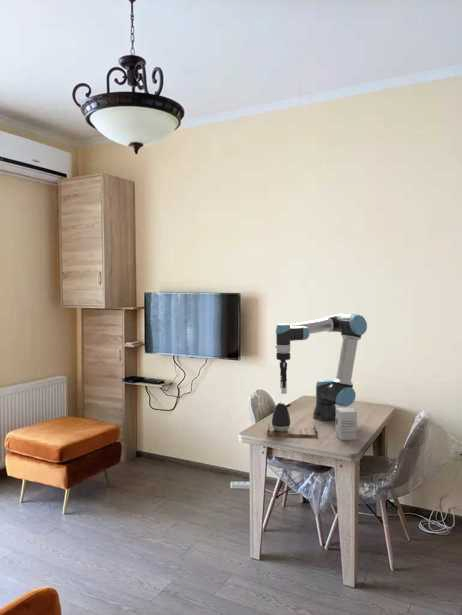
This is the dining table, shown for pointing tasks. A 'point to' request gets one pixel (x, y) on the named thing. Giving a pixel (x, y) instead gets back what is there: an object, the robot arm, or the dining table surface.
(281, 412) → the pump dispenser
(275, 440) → the dining table surface
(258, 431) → the dining table surface
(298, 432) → the ledge board
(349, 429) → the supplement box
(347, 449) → the dining table surface
